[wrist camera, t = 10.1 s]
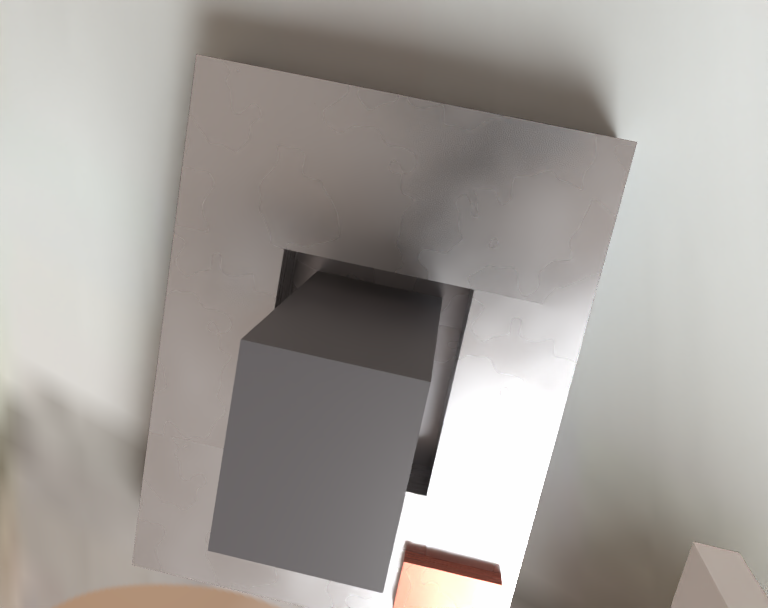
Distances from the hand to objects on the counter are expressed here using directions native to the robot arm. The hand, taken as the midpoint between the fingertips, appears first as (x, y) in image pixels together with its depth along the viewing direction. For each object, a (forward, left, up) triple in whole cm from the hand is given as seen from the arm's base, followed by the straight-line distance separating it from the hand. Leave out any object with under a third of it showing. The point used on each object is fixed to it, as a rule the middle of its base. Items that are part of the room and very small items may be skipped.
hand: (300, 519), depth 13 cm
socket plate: (0, 0, -11) cm, 11 cm away
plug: (0, 0, -11) cm, 11 cm away
